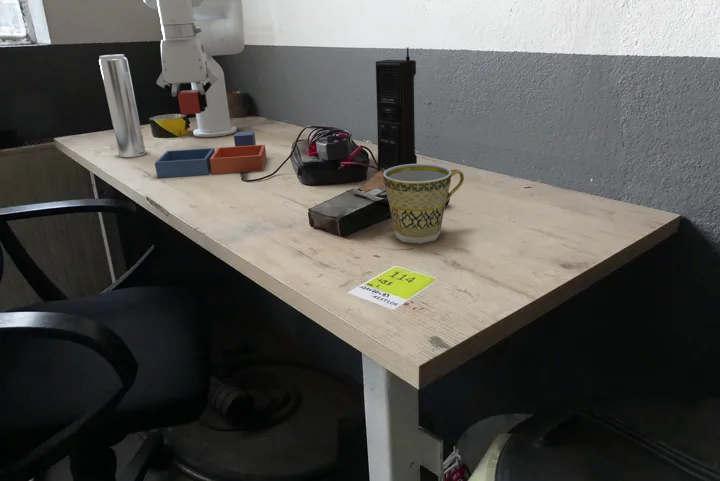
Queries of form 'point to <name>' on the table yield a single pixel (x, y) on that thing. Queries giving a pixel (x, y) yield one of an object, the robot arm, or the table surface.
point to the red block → (189, 102)
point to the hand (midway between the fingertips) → (192, 110)
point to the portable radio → (395, 112)
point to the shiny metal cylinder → (122, 105)
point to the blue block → (244, 138)
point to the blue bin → (184, 163)
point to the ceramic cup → (418, 199)
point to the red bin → (238, 159)
